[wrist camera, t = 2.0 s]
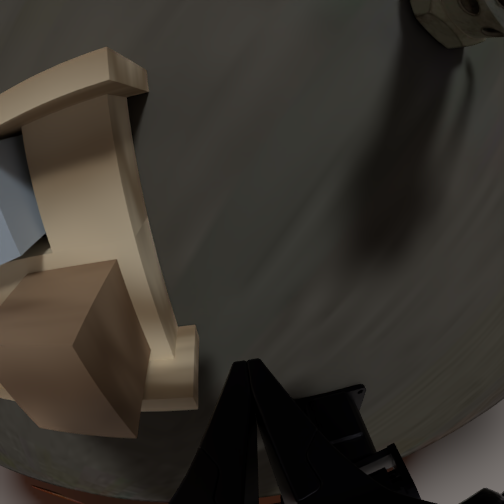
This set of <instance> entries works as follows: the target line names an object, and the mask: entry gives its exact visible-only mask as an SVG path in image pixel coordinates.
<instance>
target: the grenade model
mask: <svg viewBox="0 0 504 504" xmlns="http://www.w3.org/2000/svg"><path fill="white" fill-rule="evenodd" d="M410 3H411V7H412V10H413V13H414V16H415V18H416V19H417V20H418V21H419V23H420V24H421V25H422V26H423V27H424V28H425V29H426V30H427V31H428V32H429V33H430V34H431V35H432V36H433V37H434V38H435V39H436V40H437V41H438V42H440V43H441V44H442V45H444V46H445V47H446V48H447V49H451V48H460V47H467V46H472V45H475V44H478V43H481V42H484V41H485V40H486V38H492V37H504V0H410Z"/></svg>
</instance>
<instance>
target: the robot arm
mask: <svg viewBox="0 0 504 504" xmlns="http://www.w3.org/2000/svg"><path fill="white" fill-rule="evenodd" d="M247 366H248V367H247ZM365 392H366V388H365V386H364V385H363V384H360V385H357V386H353V387H349V388H346V389H342V390H338V391H334V392H330V393H326V394H322V395H318V396H313V397H309V398H304V399H300V400H295V401H294V400H293V399H292V398H291V397H290V395H289V394H288V393H287V392H286V391H285V389H284V388H283V387H282V386H281V384H280V383H279V382H278V381H277V379H276V378H275V377H274V376H273V374H272V373H271V372H270V371H269V369H268V368H267V367H266V366H265V364H264V363H263V362H262V361H261V360H260V359H259V358H257V359H251V360H248V361H247V362H246V361H237V362H234V363H233V364H232V367H231V369H230V372H229V374H228V377H227V379H226V382H225V384H224V387H223V389H222V392H221V394H220V397H219V399H218V402H217V404H216V407H215V409H214V412H213V414H212V417H211V419H210V422H209V424H208V427H207V429H206V431H205V434H204V436H203V439H202V441H201V444H200V448H198V450H197V453H196V455H195V458H194V460H193V462H192V464H191V466H190V468H189V470H188V472H187V474H186V476H185V478H184V479H183V481H182V483H181V485H180V486H179V488H178V489H177V491H176V493H175V494H174V496H173V497H172V499H171V500H170V502H169V503H168V504H259V497H258V456H257V423H258V427H259V430H260V433H261V436H262V439H263V442H264V446H265V449H266V452H267V455H268V458H269V461H270V463H271V466H272V469H273V472H274V475H275V478H276V481H277V484H278V487H279V489H280V492H281V504H436V503H432V502H428V501H424V500H421V498H420V496H419V493H418V491H417V488H416V486H415V484H414V482H413V480H412V478H411V476H410V474H409V472H408V470H407V468H406V466H405V464H404V462H403V460H402V458H401V456H400V454H399V452H398V450H397V448H396V446H395V444H394V443H393V444H391V445H389V446H387V448H385V449H383V450H381V451H379V452H376V449H375V447H374V445H373V442H372V440H371V438H370V435H369V433H368V431H367V428H366V426H365V424H364V421H363V419H362V417H361V414H360V412H359V410H360V407H361V404H362V401H363V398H364V395H365ZM255 414H256V415H255ZM256 419H257V423H256ZM391 467H393V468H394V470H392V471H390V472H387V470H386V469H388V468H391ZM459 504H504V492H503V493H502V494H499V493H497V492H495V491H493V490H490V489H488V488H483V489H481V490H480V491H478V492H477V493H475V494H474V495H472V496H471V497H469V498H467V499H466V500H464V501H462V502H461V503H459Z"/></svg>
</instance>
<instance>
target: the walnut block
mask: <svg viewBox="0 0 504 504" xmlns="http://www.w3.org/2000/svg"><path fill="white" fill-rule="evenodd" d="M150 353H151V349H150V346H149V344H148V342H147V339H146V337H145V335H144V332H143V330H142V327H141V325H140V322H139V320H138V317H137V315H136V312H135V309H134V307H133V304H132V301H131V299H130V296H129V293H128V290H127V288H126V285H125V282H124V279H123V276H122V273H121V270H120V267H119V264H118V261H117V259H114V260H107V261H101V262H95V263H88V264H82V265H76V266H70V267H63V268H57V269H51V270H45V271H39V272H33V273H28V274H27V275H26V276H25V277H24V278H23V279H22V280H21V282H20V283H19V284H18V285H17V286H16V287H15V289H14V290H13V291H12V292H11V293H10V295H9V296H8V297H7V298H6V299H5V301H4V302H3V303H2V304H1V306H0V383H1V385H2V386H3V387H4V388H5V390H6V391H7V392H8V393H9V394H10V396H11V397H12V398H13V399H14V400H15V401H16V403H17V404H18V405H19V406H20V407H21V408H22V409H23V411H24V412H25V413H26V414H27V415H28V416H29V417H30V418H31V419H32V420H33V421H34V422H35V423H36V424H37V425H38V426H39V427H40V428H44V429H50V430H55V431H62V432H68V433H76V434H84V435H93V436H104V437H118V438H137V435H138V427H139V420H140V413H141V406H142V399H143V393H144V386H145V380H146V375H147V369H148V363H149V358H150Z"/></svg>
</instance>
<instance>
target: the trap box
mask: <svg viewBox="0 0 504 504" xmlns="http://www.w3.org/2000/svg"><path fill="white" fill-rule="evenodd" d="M147 92H149V88H148V79H147V71H146V70H145V69H143V68H142V67H140V66H138V65H137V64H135V63H134V62H132V61H130V60H129V59H127V58H125V57H124V56H122V55H120V54H118V53H117V52H115V51H113V50H112V49H110V48H108V47H104V48H101V49H98V50H95V51H93V52H90V53H87V54H84V55H81V56H79V57H76V58H74V59H71V60H69V61H66V62H64V63H61V64H59V65H57V66H54V67H52V68H50V69H48V70H46V71H43V72H41V73H39V74H37V75H35V76H33V77H31V78H29V79H27V80H25V81H23V82H21V83H19V84H18V85H16V86H14V87H12V88H10V89H8V90H7V91H5V92H3V93H2V94H0V140H2V139H6V138H11V137H15V136H19V135H21V134H22V135H23V141H24V147H25V153H26V158H27V163H28V168H29V173H30V177H31V181H32V186H33V190H34V194H35V197H36V201H37V205H38V208H39V212H40V215H41V219H42V222H43V225H44V228H45V232H46V235H47V237H42V238H40V239H39V240H38V241H36V242H35V243H34V244H33V245H32V246H31V247H30V248H29V249H28V250H27V251H26V252H25V253H24V254H23V255H21V256H20V257H17V258H15V259H13V260H11V261H9V262H6V263H4V264H2V265H0V306H1V304H2V303H3V302H4V301H5V299H6V298H7V297H8V296H9V295H10V293H11V292H12V291H13V290H14V289H15V287H16V286H17V285H18V284H19V283H20V282H21V280H22V279H23V278H24V277H25V276H26V275H27V274H28V273H33V272H39V271H45V270H51V269H57V268H63V267H70V266H76V265H82V264H88V263H95V262H101V261H107V260H114V259H117V261H118V264H119V267H120V270H121V273H122V276H123V279H124V282H125V285H126V288H127V290H128V293H129V296H130V299H131V301H132V304H133V307H134V309H135V312H136V315H137V317H138V320H139V322H140V325H141V327H142V330H143V332H144V335H145V337H146V339H147V342H148V344H149V346H150V349H151V353H150V358H149V363H148V369H147V375H146V380H145V386H144V393H143V399H142V406H141V412H150V411H178V410H194V409H198V369H199V336H198V332H197V329H196V325H188V326H179V327H178V325H177V322H176V319H175V316H174V312H173V309H172V306H171V303H170V299H169V296H168V292H167V289H166V286H165V282H164V278H163V275H162V271H161V268H160V264H159V260H158V256H157V252H156V249H155V245H154V241H153V237H152V232H151V228H150V224H149V220H148V215H147V211H146V206H145V202H144V197H143V192H142V188H141V183H140V177H139V172H138V167H137V161H136V156H135V150H134V144H133V138H132V132H131V125H130V118H129V111H128V103H127V97H130V96H134V95H138V94H142V93H147ZM0 398H3V399H8V400H13V401H15V400H14V399H13V398H12V397H11V396H10V394H9V393H8V392H7V391H6V390H5V388H4V387H3V386H2V385H1V383H0Z"/></svg>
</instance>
